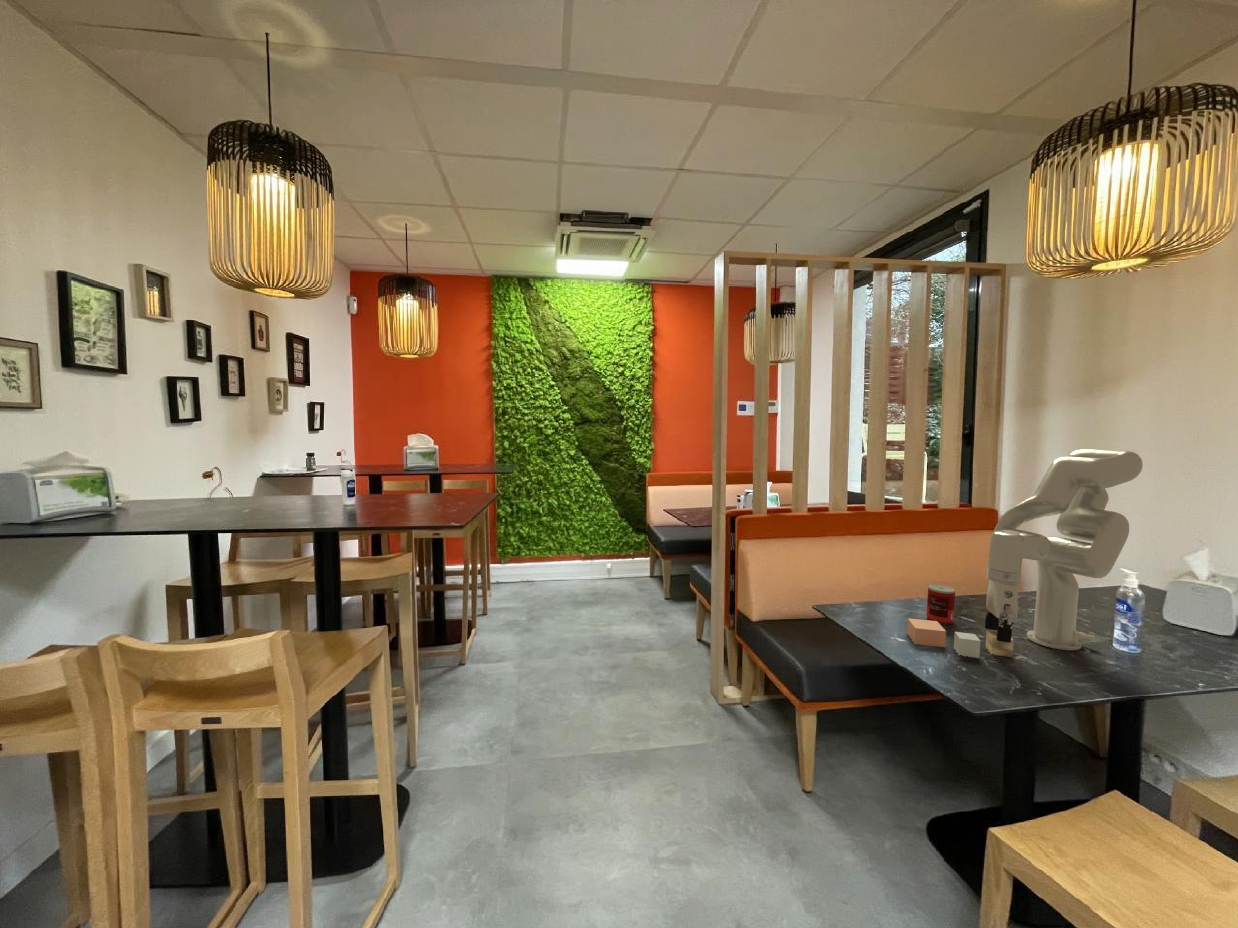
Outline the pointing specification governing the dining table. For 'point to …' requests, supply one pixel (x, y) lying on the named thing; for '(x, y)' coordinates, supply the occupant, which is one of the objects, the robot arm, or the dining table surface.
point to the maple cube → (998, 645)
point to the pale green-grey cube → (967, 644)
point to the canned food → (940, 603)
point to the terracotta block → (926, 632)
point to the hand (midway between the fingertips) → (997, 635)
